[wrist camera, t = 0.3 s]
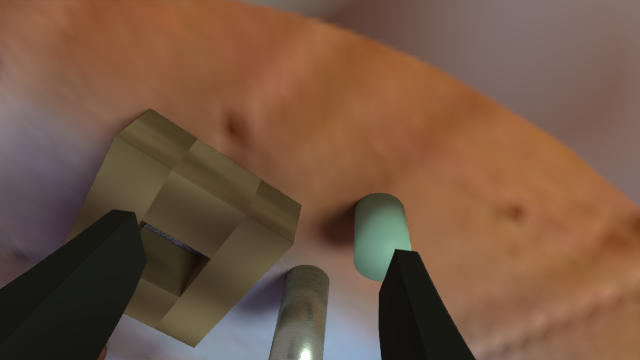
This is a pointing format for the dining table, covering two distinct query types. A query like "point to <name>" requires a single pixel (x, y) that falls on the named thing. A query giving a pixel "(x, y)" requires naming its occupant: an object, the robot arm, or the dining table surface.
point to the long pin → (302, 316)
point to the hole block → (189, 224)
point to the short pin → (378, 234)
